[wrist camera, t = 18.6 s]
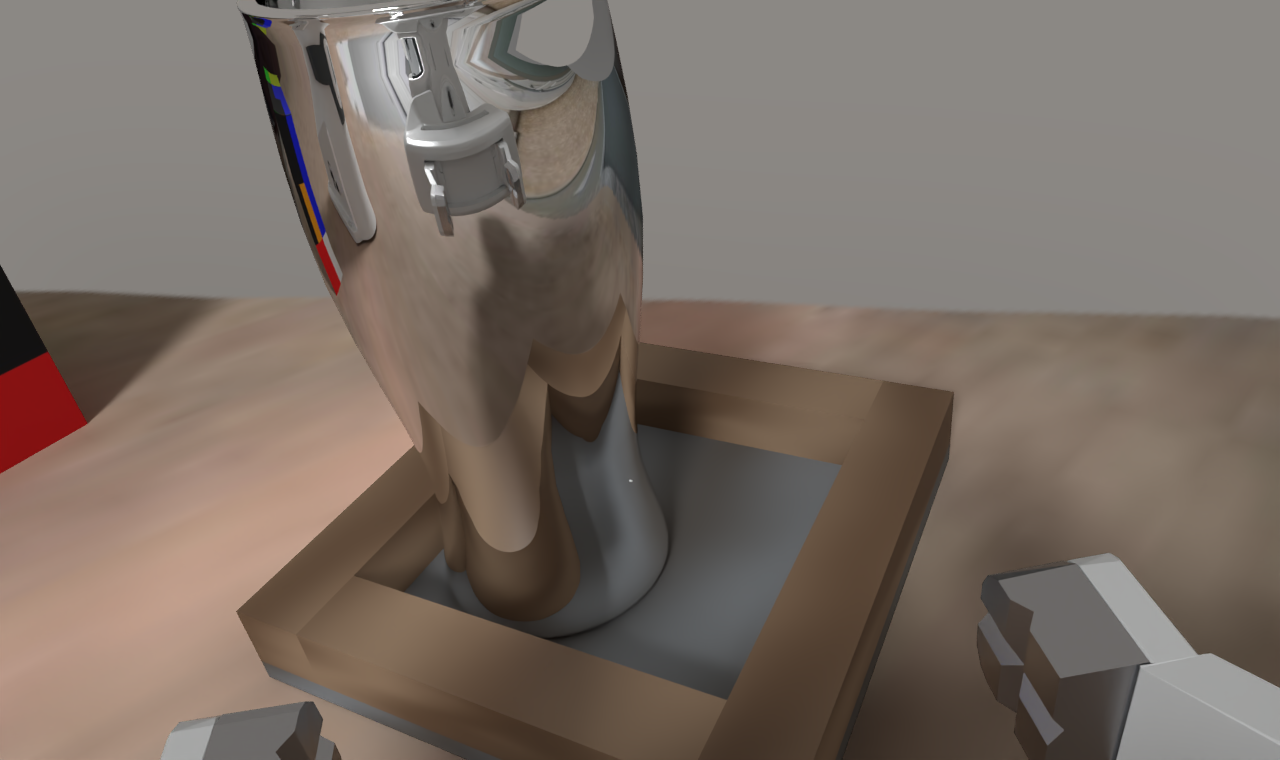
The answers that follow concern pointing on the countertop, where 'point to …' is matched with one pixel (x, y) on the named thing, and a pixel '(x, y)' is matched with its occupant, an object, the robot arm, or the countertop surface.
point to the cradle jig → (674, 606)
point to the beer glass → (485, 274)
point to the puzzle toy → (29, 387)
